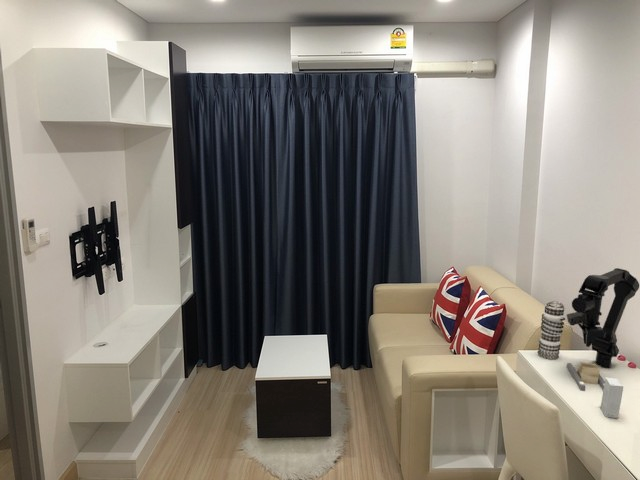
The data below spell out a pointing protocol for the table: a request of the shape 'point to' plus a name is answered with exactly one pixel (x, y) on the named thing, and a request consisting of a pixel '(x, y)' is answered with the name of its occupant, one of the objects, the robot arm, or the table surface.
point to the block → (588, 372)
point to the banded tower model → (551, 330)
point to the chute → (578, 379)
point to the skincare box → (611, 397)
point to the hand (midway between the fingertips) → (586, 345)
